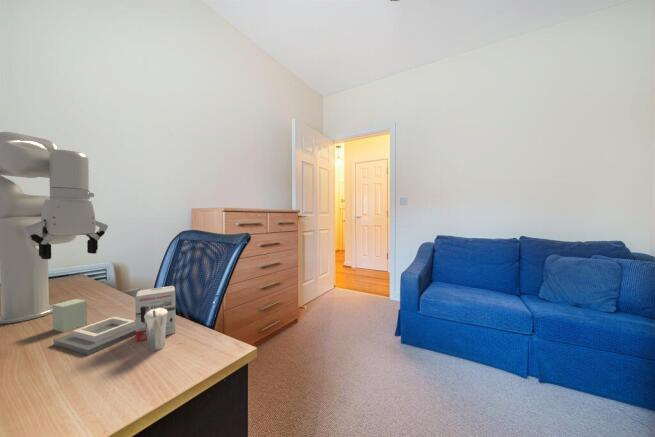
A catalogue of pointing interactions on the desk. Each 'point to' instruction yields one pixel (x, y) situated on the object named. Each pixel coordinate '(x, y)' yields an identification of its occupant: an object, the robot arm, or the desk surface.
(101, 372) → the desk surface
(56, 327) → the sage block
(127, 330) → the baseplate
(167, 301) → the ink box
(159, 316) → the milkshake
